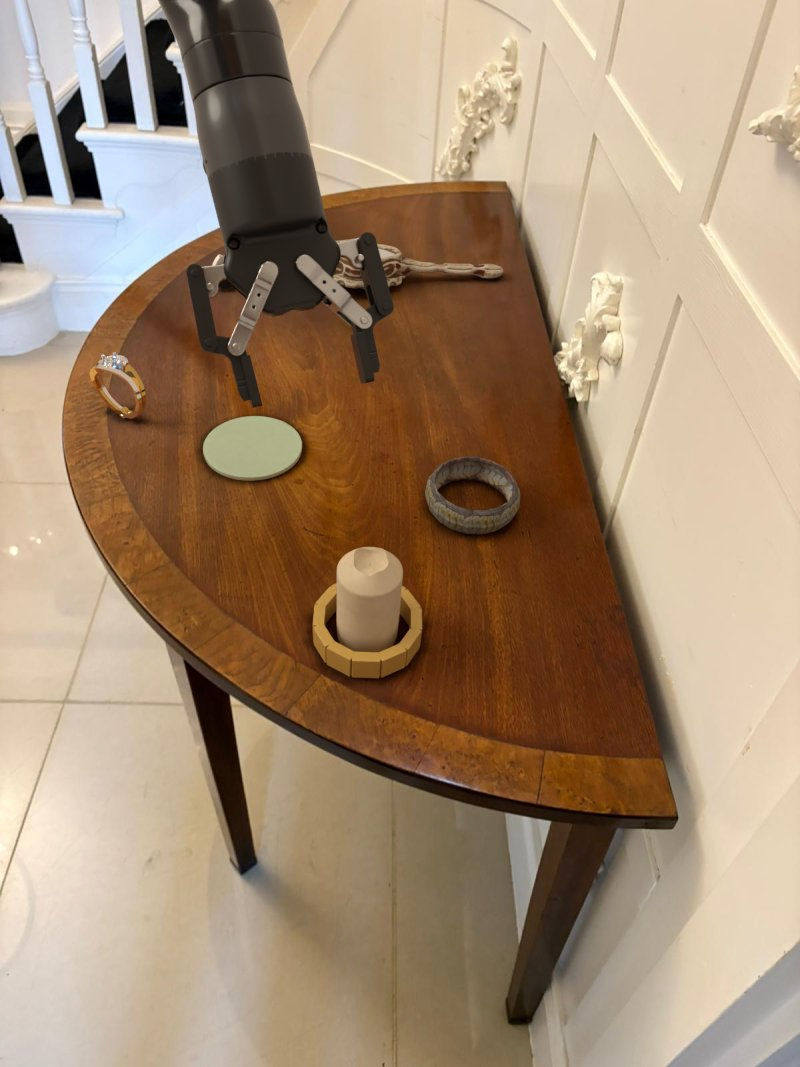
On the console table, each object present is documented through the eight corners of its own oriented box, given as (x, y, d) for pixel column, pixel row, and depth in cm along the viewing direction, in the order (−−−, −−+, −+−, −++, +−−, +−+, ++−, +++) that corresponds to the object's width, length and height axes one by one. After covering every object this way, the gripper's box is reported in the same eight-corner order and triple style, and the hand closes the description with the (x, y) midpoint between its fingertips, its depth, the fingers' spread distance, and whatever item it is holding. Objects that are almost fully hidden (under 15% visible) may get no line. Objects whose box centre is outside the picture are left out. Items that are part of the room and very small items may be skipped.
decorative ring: (534, 527, 82) (493, 467, 89) (539, 504, 80) (498, 445, 86) (445, 548, 79) (410, 485, 86) (448, 525, 77) (412, 462, 84)
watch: (225, 265, 119) (223, 242, 116) (254, 270, 118) (252, 247, 116) (203, 288, 114) (199, 264, 111) (233, 294, 113) (230, 270, 110)
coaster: (224, 492, 83) (224, 489, 83) (189, 434, 90) (188, 431, 90) (318, 463, 88) (318, 459, 87) (278, 409, 94) (278, 406, 94)
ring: (156, 420, 91) (144, 361, 86) (135, 434, 89) (122, 374, 84) (114, 398, 94) (100, 340, 88) (93, 411, 92) (77, 352, 86)
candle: (323, 633, 71) (322, 558, 64) (366, 600, 74) (369, 525, 67) (367, 669, 68) (370, 595, 61) (409, 634, 71) (417, 559, 64)
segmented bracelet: (344, 694, 67) (344, 677, 65) (296, 616, 72) (295, 598, 70) (439, 652, 70) (442, 635, 68) (387, 580, 76) (388, 562, 74)
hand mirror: (516, 280, 115) (313, 269, 108) (504, 311, 120) (309, 303, 113) (500, 233, 121) (306, 221, 114) (489, 265, 126) (302, 255, 119)
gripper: (154, 166, 50) (219, 416, 54) (367, 132, 53) (416, 372, 56) (160, 196, 57) (218, 414, 61) (347, 164, 60) (392, 375, 64)
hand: (313, 394), depth 59 cm, fingers open, 8 cm apart
